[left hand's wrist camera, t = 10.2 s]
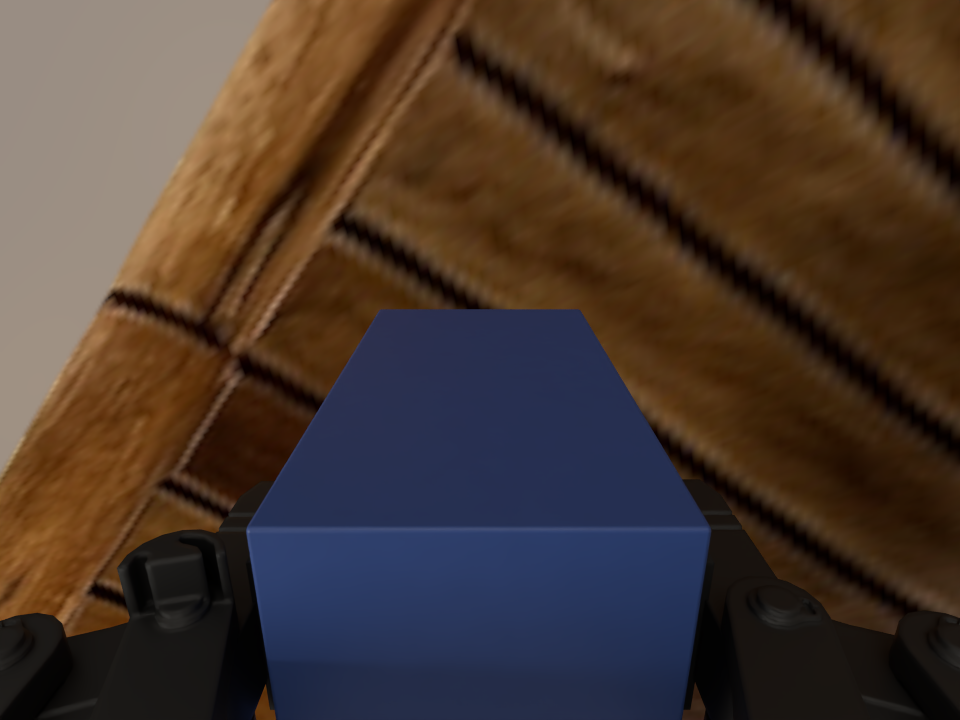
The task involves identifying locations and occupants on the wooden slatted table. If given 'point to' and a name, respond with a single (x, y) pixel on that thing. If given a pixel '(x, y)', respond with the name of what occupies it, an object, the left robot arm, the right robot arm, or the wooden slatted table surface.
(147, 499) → the wooden slatted table surface
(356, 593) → the bar
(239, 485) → the wooden slatted table surface
